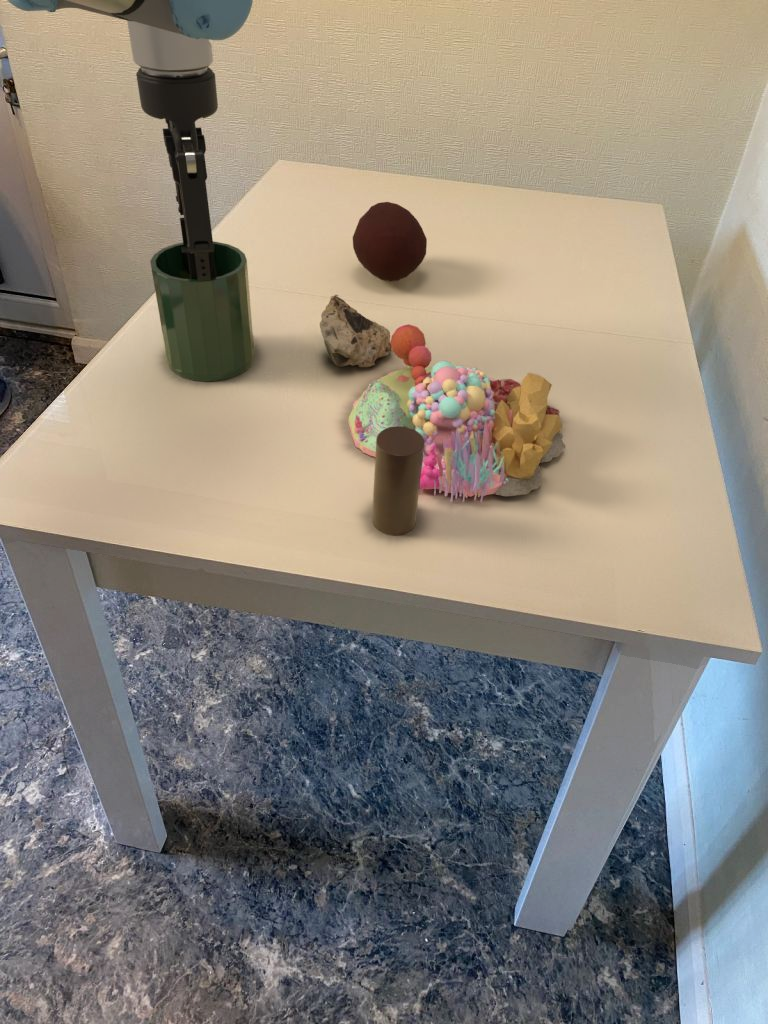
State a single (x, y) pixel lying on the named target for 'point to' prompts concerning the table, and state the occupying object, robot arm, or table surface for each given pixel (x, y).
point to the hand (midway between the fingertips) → (202, 286)
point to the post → (397, 479)
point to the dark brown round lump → (389, 241)
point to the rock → (352, 335)
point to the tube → (205, 314)
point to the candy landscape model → (462, 422)
